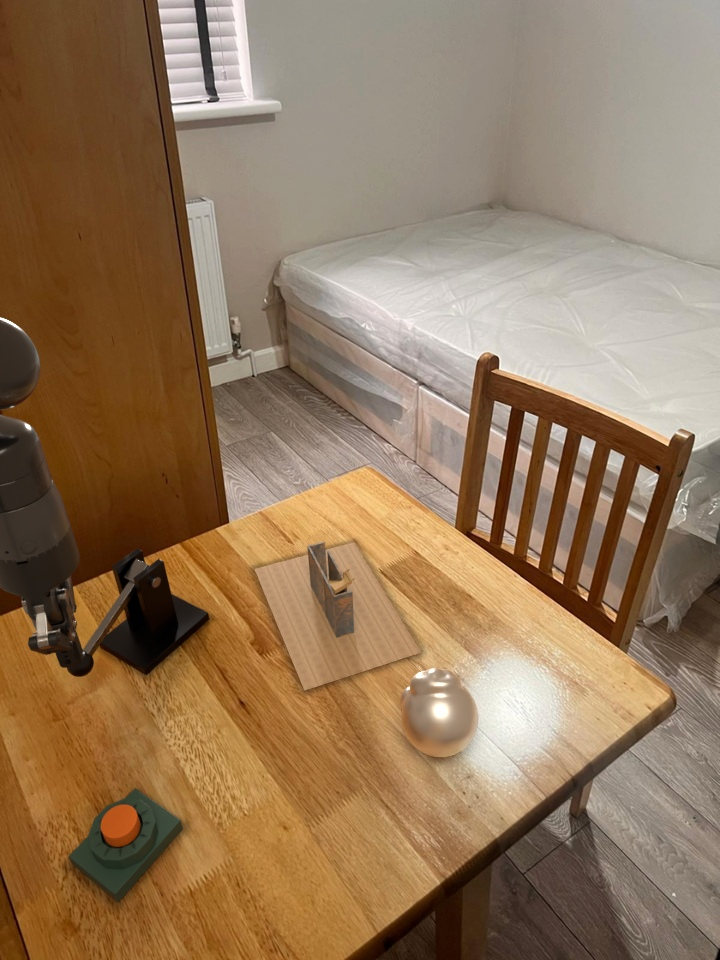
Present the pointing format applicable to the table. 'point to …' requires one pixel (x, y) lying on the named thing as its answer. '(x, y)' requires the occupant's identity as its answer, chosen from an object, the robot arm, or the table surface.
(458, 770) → the table surface
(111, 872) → the button box
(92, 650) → the lever
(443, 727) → the silver rounded lump
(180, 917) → the table surface
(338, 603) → the architectural model on board
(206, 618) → the bracket
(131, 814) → the button
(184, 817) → the table surface
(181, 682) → the table surface
